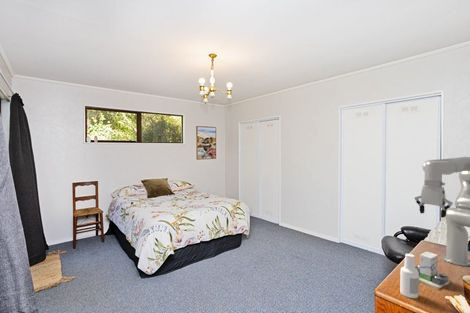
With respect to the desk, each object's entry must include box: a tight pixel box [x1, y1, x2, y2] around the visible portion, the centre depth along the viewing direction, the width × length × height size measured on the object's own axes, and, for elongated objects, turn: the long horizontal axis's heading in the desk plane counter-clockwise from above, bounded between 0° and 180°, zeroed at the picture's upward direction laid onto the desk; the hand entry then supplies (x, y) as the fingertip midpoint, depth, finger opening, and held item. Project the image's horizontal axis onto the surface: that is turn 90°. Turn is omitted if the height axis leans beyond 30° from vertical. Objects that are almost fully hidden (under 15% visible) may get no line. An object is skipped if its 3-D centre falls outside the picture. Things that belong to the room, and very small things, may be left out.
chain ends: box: [415, 264, 449, 286], centre depth 127 cm, size 9×13×3 cm
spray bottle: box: [399, 253, 420, 299], centre depth 114 cm, size 7×7×18 cm
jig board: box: [419, 275, 452, 290], centre depth 127 cm, size 14×14×1 cm
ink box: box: [419, 251, 439, 281], centre depth 127 cm, size 8×5×12 cm, turn 122°
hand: (432, 215), depth 137 cm, fingers open, 9 cm apart
